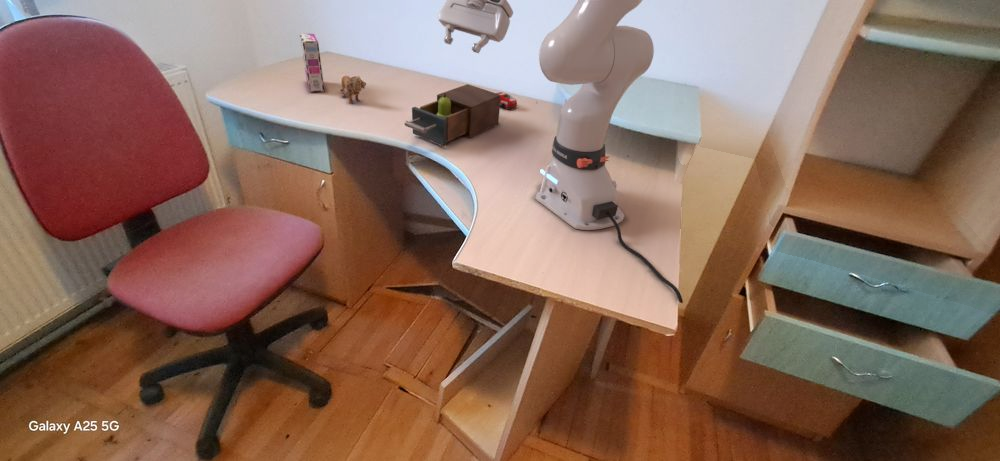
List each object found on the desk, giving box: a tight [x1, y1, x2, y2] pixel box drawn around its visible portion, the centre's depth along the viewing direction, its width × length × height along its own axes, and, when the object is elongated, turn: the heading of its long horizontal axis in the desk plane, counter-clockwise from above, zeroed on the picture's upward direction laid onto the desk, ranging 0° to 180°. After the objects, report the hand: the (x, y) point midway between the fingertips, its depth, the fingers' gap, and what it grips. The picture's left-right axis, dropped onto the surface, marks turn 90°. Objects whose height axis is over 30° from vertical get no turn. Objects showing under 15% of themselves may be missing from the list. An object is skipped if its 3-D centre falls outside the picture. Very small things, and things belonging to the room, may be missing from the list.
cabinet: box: [436, 83, 501, 139], centre depth 139 cm, size 15×13×10 cm
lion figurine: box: [340, 75, 367, 105], centre depth 149 cm, size 15×5×9 cm, turn 44°
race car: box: [495, 91, 518, 110], centre depth 158 cm, size 13×5×4 cm, turn 53°
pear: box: [436, 92, 452, 118], centre depth 130 cm, size 5×5×11 cm
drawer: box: [404, 100, 469, 147], centre depth 130 cm, size 19×12×8 cm, turn 145°
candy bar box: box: [299, 33, 326, 93], centre depth 153 cm, size 11×5×16 cm, turn 25°
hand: (460, 47), depth 120 cm, fingers open, 8 cm apart
